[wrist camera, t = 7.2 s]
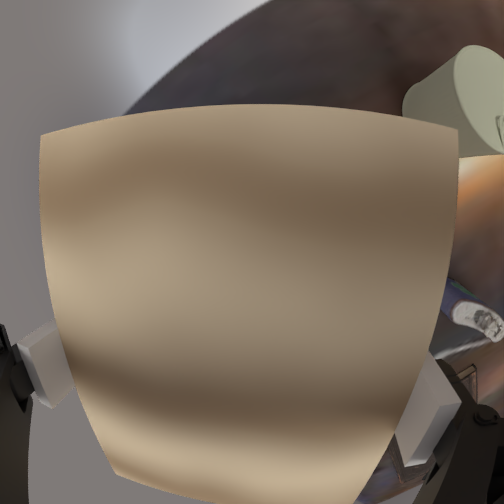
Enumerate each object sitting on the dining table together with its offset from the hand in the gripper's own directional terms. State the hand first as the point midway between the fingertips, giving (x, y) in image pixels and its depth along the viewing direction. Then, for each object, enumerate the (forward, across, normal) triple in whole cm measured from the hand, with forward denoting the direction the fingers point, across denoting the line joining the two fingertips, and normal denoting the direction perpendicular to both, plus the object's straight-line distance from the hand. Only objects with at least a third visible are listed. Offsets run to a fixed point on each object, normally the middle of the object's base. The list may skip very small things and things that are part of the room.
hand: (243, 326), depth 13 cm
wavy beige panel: (-2, 0, 0) cm, 2 cm away
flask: (+18, +21, -4) cm, 28 cm away
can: (+18, +18, +15) cm, 29 cm away
